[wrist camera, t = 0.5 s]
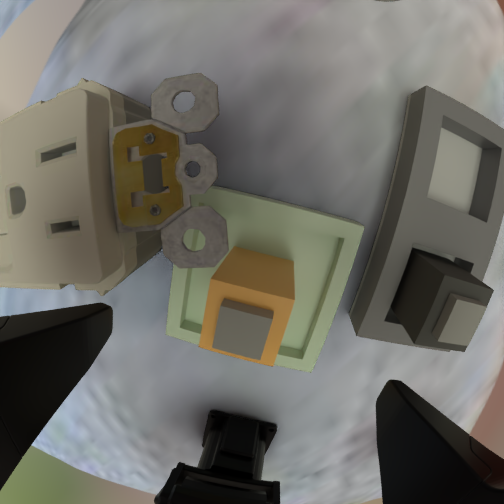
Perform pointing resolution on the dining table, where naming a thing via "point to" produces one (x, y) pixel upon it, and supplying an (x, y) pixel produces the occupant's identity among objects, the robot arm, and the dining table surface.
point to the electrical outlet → (105, 186)
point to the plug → (248, 306)
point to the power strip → (434, 205)
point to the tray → (279, 245)
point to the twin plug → (439, 302)
